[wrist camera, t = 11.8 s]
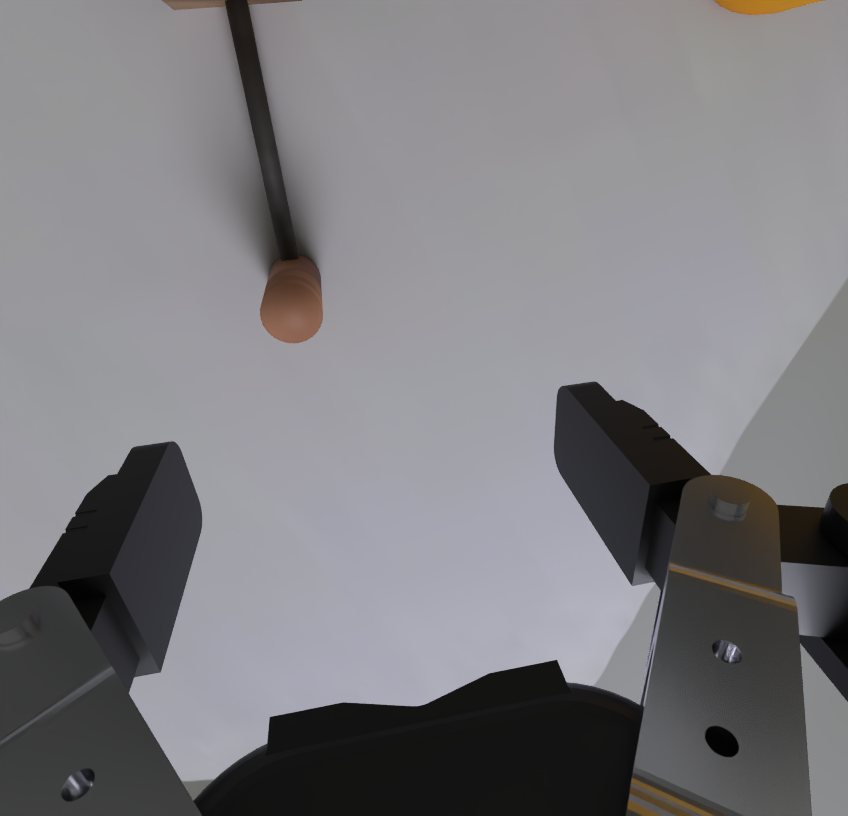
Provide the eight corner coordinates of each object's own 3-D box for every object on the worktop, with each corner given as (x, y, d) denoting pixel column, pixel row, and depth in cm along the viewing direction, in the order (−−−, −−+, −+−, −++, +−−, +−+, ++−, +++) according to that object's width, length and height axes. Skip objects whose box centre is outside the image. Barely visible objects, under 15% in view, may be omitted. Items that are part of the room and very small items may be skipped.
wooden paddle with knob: (263, -239, 22) (246, -368, 16) (348, 295, 33) (356, 334, 27) (111, -236, 21) (36, -369, 16) (250, 309, 33) (237, 351, 27)
